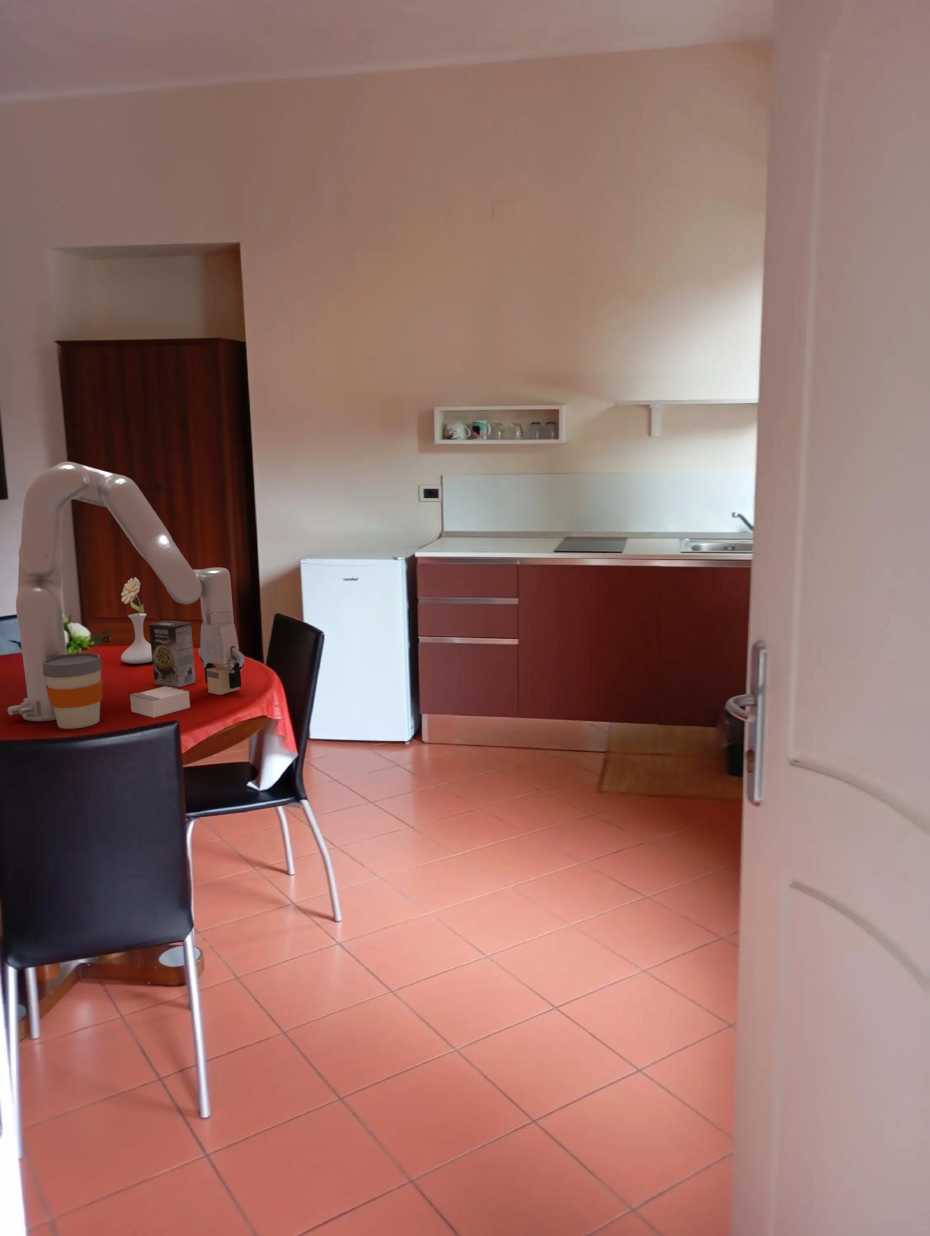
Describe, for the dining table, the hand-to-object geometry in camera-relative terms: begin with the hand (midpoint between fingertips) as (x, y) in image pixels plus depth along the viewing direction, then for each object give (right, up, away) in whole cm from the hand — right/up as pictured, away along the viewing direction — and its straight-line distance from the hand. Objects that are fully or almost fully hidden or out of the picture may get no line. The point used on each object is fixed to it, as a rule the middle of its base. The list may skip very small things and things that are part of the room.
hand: (223, 684), depth 248 cm
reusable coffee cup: (-28, -7, -22) cm, 36 cm away
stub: (0, -2, 0) cm, 2 cm away
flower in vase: (-32, +4, +36) cm, 49 cm away
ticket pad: (-12, -5, -13) cm, 18 cm away
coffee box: (-15, -1, +11) cm, 19 cm away
